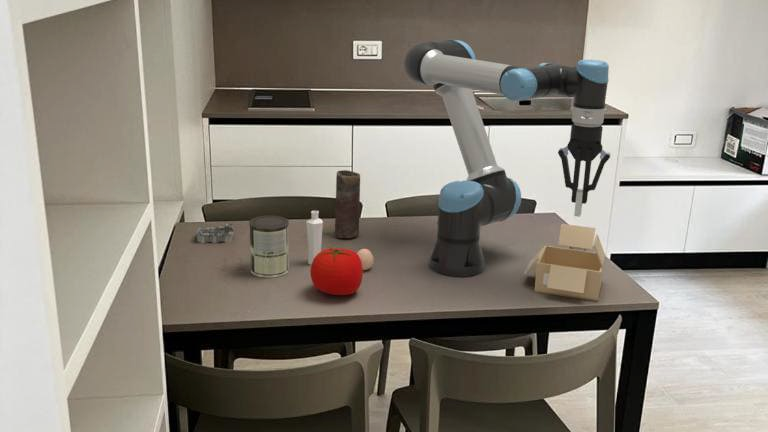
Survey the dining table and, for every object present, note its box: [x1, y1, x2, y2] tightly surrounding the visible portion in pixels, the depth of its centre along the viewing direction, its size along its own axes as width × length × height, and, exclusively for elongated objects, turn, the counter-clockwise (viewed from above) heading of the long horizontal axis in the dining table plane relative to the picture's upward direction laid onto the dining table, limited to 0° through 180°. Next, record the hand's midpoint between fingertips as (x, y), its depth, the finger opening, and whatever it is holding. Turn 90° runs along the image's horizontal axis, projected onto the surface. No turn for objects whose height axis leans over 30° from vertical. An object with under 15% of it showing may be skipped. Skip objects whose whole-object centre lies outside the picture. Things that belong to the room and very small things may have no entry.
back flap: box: [557, 223, 596, 251], centre depth 214 cm, size 9×1×6 cm
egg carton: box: [196, 223, 234, 244], centre depth 235 cm, size 11×8×4 cm
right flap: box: [593, 233, 606, 266], centre depth 204 cm, size 1×8×6 cm, turn 159°
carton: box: [533, 245, 606, 303], centre depth 208 cm, size 16×14×8 cm
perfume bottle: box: [305, 210, 324, 266], centre depth 217 cm, size 5×4×15 cm
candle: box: [334, 169, 361, 239], centre depth 238 cm, size 8×7×20 cm
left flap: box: [523, 247, 544, 276], centre depth 210 cm, size 1×8×6 cm
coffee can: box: [248, 214, 290, 279], centre depth 211 cm, size 10×10×14 cm
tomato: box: [310, 247, 364, 296], centre depth 200 cm, size 13×14×12 cm
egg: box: [356, 248, 375, 271], centre depth 216 cm, size 5×5×6 cm
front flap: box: [547, 265, 587, 293], centre depth 200 cm, size 9×1×6 cm, turn 71°
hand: (577, 214), depth 203 cm, fingers closed
